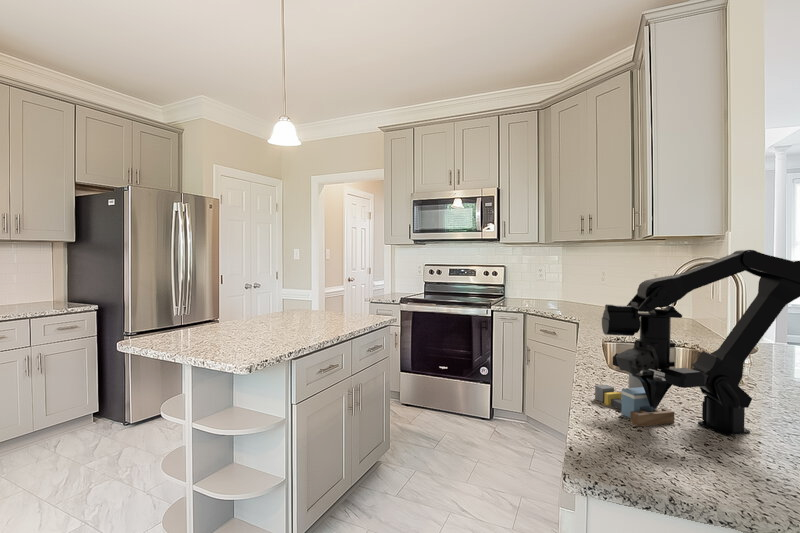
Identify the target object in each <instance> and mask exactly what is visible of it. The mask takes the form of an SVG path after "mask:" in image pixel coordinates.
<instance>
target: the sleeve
mask: <svg viewBox="0 0 800 533" xmlns="http://www.w3.org/2000/svg"><path fill="white" fill-rule="evenodd" d="M620 393H621V394H622V410H621V415H623V416H625V417H626V418H629V419H630V411H635V412H637V413H639V411H640V408H642V409H644V410H646V411H649V412H653V409H658V407H657V408H653V407H651V406H650V404H649V401H648V398H647V396H646V393H645V390H644V387H639V388H621V392H620Z"/></svg>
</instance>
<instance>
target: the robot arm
mask: <svg viewBox="0 0 800 533" xmlns="http://www.w3.org/2000/svg"><path fill="white" fill-rule="evenodd" d="M743 272H747V273H748V274H749V273H750V274H751V275H753V276H756V277H759V280H758V288H757V289H758V290H757V295H756V297H754V299H753V301H752V302H751V303H750V304H749V306H748V308H747V309H746V310H745V311H744V313H743V315H741V317H740V319H738V321H737V323H736V324H735V325H734V327H733V328H732V329H731V331H730V332H729V333H728V335H727V336H726V338H725V339H724V340H723V342H722V343H721V345H720V346H719V347H718V349H716V350H715V351H712V352H711V353H709V352H706V351H704V350H702V351H701V352H700V353H699V356H698V358H697V359H696V361H695V362H693V363H692V364H691V367H693V368H692V369H691V368H688V367H678V368H677V367H675V365H676V364H675V361H672V360H671V349H675V348H676V342H672V341H671V333H672V332H671V326H672V323H671V321H672V320H671V319H673V318H674V319H675V318H676V319H681V318H683V314H682V313H681V312H679V311H678V310H677V309H676V308H675V307H674V306H672V305H673V304H675V303H676V302H678V301H679V300H682V299H683V298H684V297H685V296H686V295H687V294H689V293H690V292H693V290H696V289H701V288H702V287H705V286H707V285H711V284H713V283H716V282H719V281H721V280H723V279H727V278H730V277H731V276H735V275H737V274H739V273H743ZM799 298H800V260H789V259H786V258H783V257H778V256H774V255H770V254H766V253H764V252H763V253H762V252H759V251H757V250H754V249H740V250H735V251H734V252H732V253H730V254H727V255H726V256H723V257H720V258H717V259H715V260H713V261H710V262H707V263H704V264H702V265H700V266H696V267H694V268H692V269H688V270H686V271H683V272H681V273H677V274H672V275H667V276H666V275H665V276H661V277H660V276H659V277H655V278H651V279H646V280H644V281H642V282H641V283H640V284H639V285H638V288H637V292H636V293H635V295H634V296H633V298H631V300H630V301H629V302H628V303H627V304H626V305H614V304H605V305H604V310H603V313H602V317H601V328H602V332H603V334H604V335H606V336H608V335H609V336H623V337H624V336H627V337H633V336H635V335H636V334H638V333H639V339H634V340H635V341H634V342H633V347H632V348H629V349H626V350H624V351H622V352H619V353H618V352H617V353H615V354H614V355H613V357H612V366H614V367H617V368H619V370H620V371H625V372H628V374H629V373H631V374H632V375H634V376H636V377H637V378H638V379H639V380H640V381H641V383H642V385H643V387H644V390H645V393H646V396H647V398H648V401H649V404H650V406H651V407H653V408H657V409H658V407H659V405H660V404H661V401H662V400H663V398H664V397H665V395H666V394H667V393H668V391H669V389H671V387H672V386H674V387H676V388H677V387H678V388H683V389H685V388H686V389H687V388H698V387H699V389H700V392H701V394H703V401H702V403H701V404H702V406H701V407H702V411H701V412H702V414H701V419H702V420H701V421H700V420H699V421H697V424H698V425H700V426H701V427H705V428H707V429H709V430H712V431H714V432H716V433H718V434H721V435H724V436H728V437H730V436H738V435H744V434H745V435H747V434H751V430H750V429H748V428H745V413H746V412H745V410H746V409H747V408H749V407H750V405H751V403H752V400H753V398H752V396H750V395H749V394H748V393H747V392H746V391H745V390H744V389H742V388H741V387H740V386H739V385H740V383H741V382H742V379H743V376H744V363H745V361H746V360H747V358H749V356H750V355H751V353H752V352H753V350H754V349H755V348H756V346H757V345H758V344H759V343H760V340H761V339H763V337H764V336H765V334H766V333H767V331H768V330H769V329H770V327H771V326H772V325H773V323H774V321H776V319H777V318H778V317H779V315H780V313H781V312H782V311H783V309H785V307H786V306H787V305H788V304H790V303H792V302H794V301H795V300H797V299H799ZM673 367H675V368H673ZM745 408H746V409H745Z"/></svg>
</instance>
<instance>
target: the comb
mask: <svg viewBox="0 0 800 533" xmlns="http://www.w3.org/2000/svg"><path fill="white" fill-rule="evenodd" d="M629 420H630V422H629V423H631V424H633V425H636V426H637V427H648V426H656V425H665V424H674V423H675V411H673V410H671V409H668V408H666V407H663V408H661V409H659V408H657V409H653V412H649V413H647V412H645V411H643V410H640V411H639V413H637V412H635V411H630V418H629Z"/></svg>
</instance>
